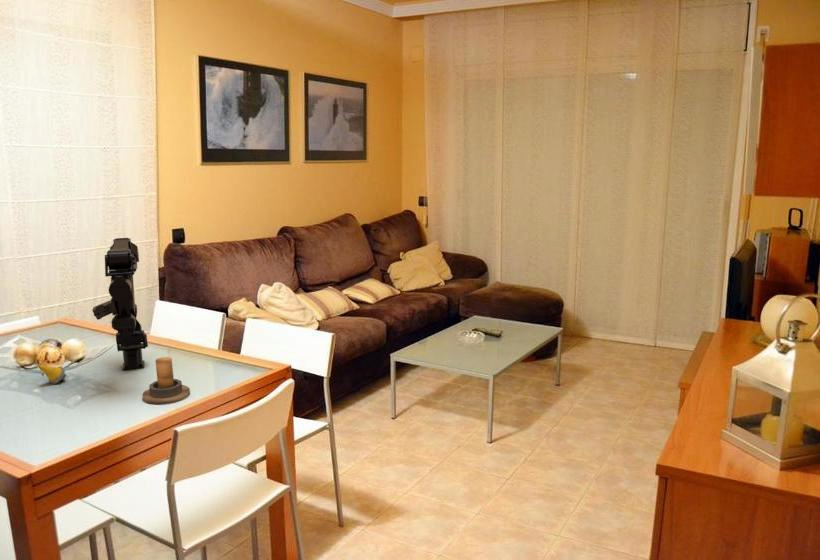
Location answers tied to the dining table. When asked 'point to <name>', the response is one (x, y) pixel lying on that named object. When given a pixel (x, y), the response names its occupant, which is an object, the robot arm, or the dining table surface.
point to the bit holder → (166, 393)
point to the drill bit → (53, 373)
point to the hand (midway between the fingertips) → (127, 342)
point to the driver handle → (164, 372)
